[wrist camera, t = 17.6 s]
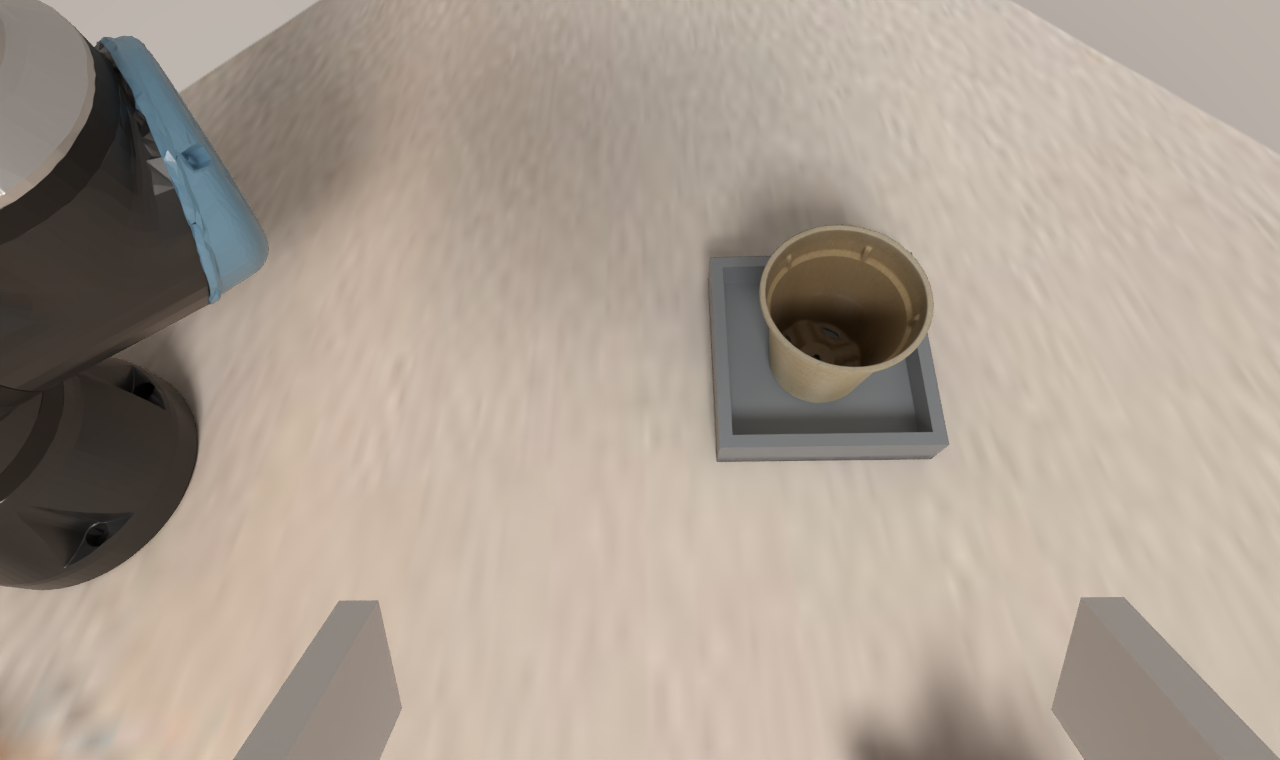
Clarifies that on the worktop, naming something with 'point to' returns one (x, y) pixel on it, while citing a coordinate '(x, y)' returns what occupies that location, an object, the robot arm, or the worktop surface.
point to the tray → (796, 429)
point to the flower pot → (841, 309)
